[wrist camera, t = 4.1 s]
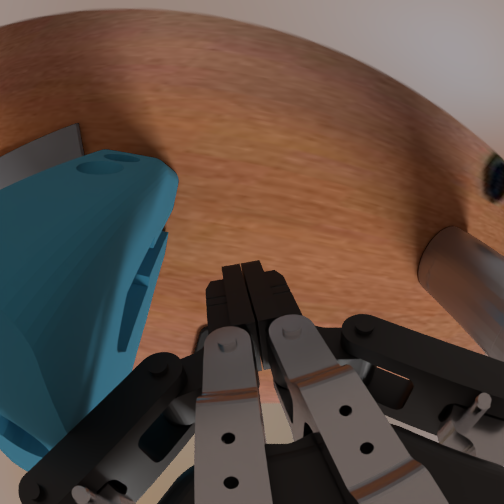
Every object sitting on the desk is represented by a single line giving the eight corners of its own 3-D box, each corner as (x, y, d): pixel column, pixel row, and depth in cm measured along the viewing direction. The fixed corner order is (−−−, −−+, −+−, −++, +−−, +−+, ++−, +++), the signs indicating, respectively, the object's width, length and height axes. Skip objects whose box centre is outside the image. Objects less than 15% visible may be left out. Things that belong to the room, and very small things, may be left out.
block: (126, 138, 20) (-107, 242, 2) (186, 150, 21) (24, 313, 3) (110, 269, 25) (17, 466, 7) (160, 280, 26) (109, 502, 8)
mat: (78, 123, 18) (75, 123, 18) (131, 306, 27) (129, 309, 26) (-51, 188, 17) (-54, 190, 16) (2, 321, 25) (0, 324, 24)
